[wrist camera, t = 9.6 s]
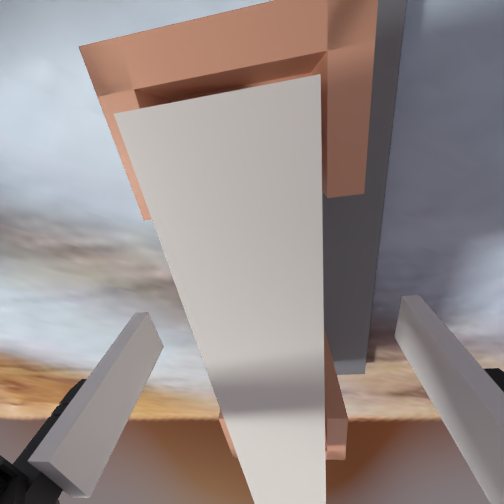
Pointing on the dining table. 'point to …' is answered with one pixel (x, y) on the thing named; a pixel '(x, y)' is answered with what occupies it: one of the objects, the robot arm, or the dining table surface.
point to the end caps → (332, 131)
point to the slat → (248, 264)
